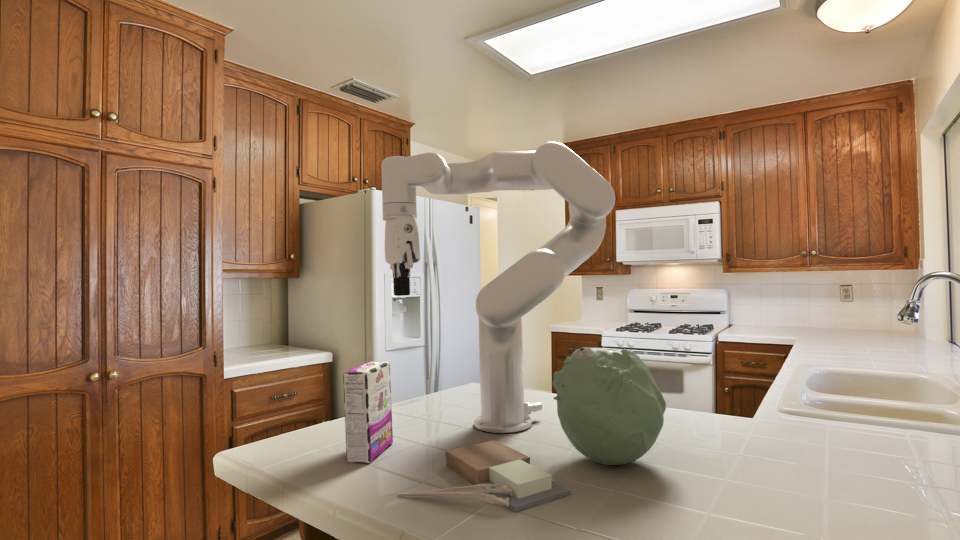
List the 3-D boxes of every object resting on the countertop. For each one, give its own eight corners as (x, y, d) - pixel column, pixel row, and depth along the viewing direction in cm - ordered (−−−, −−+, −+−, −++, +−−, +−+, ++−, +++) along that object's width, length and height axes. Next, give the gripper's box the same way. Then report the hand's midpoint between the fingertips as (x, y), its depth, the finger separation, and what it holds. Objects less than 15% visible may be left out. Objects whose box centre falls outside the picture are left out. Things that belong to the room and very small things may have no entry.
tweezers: (514, 493, 73) (512, 479, 73) (508, 509, 68) (506, 495, 68) (404, 496, 77) (402, 483, 77) (391, 511, 73) (389, 498, 73)
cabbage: (673, 484, 76) (668, 353, 77) (549, 475, 81) (545, 352, 81) (663, 449, 91) (659, 340, 92) (559, 444, 96) (556, 340, 97)
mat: (531, 473, 82) (531, 469, 82) (570, 494, 74) (570, 490, 74) (479, 487, 77) (479, 483, 77) (515, 511, 69) (514, 507, 69)
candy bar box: (370, 442, 100) (367, 360, 101) (393, 443, 99) (391, 361, 100) (344, 463, 89) (341, 371, 90) (370, 464, 88) (367, 371, 89)
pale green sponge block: (520, 471, 81) (520, 459, 81) (551, 488, 75) (551, 475, 75) (489, 480, 78) (488, 467, 78) (518, 498, 71) (518, 484, 72)
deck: (494, 453, 92) (494, 439, 92) (530, 472, 82) (530, 457, 83) (446, 465, 87) (445, 450, 87) (478, 487, 77) (477, 470, 77)
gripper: (429, 209, 107) (431, 295, 107) (402, 217, 120) (404, 294, 120) (396, 207, 103) (398, 296, 103) (372, 216, 116) (374, 295, 116)
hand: (401, 295), depth 111 cm, fingers closed
